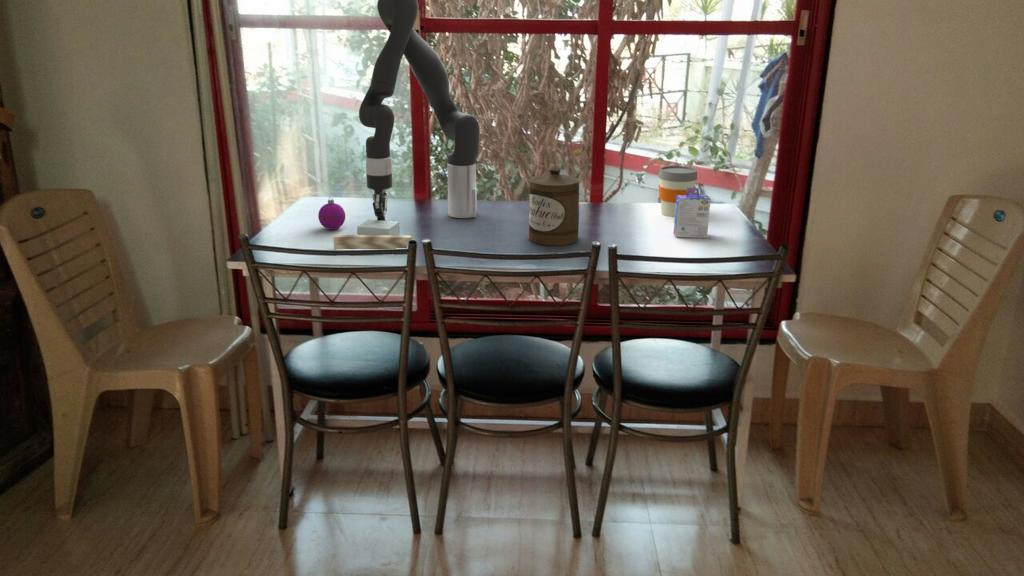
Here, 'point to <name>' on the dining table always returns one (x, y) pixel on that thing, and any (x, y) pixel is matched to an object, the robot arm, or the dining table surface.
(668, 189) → the reusable coffee cup
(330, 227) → the christmas ornament
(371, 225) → the block
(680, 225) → the ink cartridge box
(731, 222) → the dining table surface
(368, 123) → the robot arm
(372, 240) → the board
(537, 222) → the wooden container
